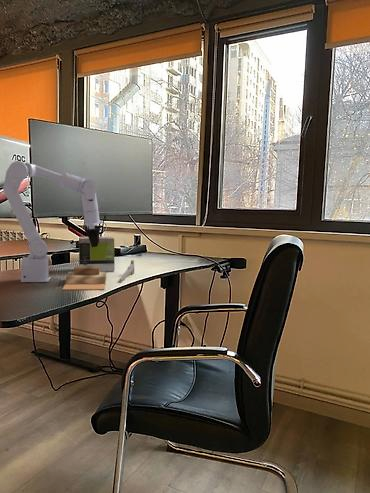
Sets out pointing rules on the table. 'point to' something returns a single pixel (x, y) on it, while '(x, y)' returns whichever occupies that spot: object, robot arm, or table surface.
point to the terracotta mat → (84, 287)
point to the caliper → (127, 271)
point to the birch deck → (86, 278)
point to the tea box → (97, 253)
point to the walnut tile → (86, 270)
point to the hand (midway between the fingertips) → (95, 245)
